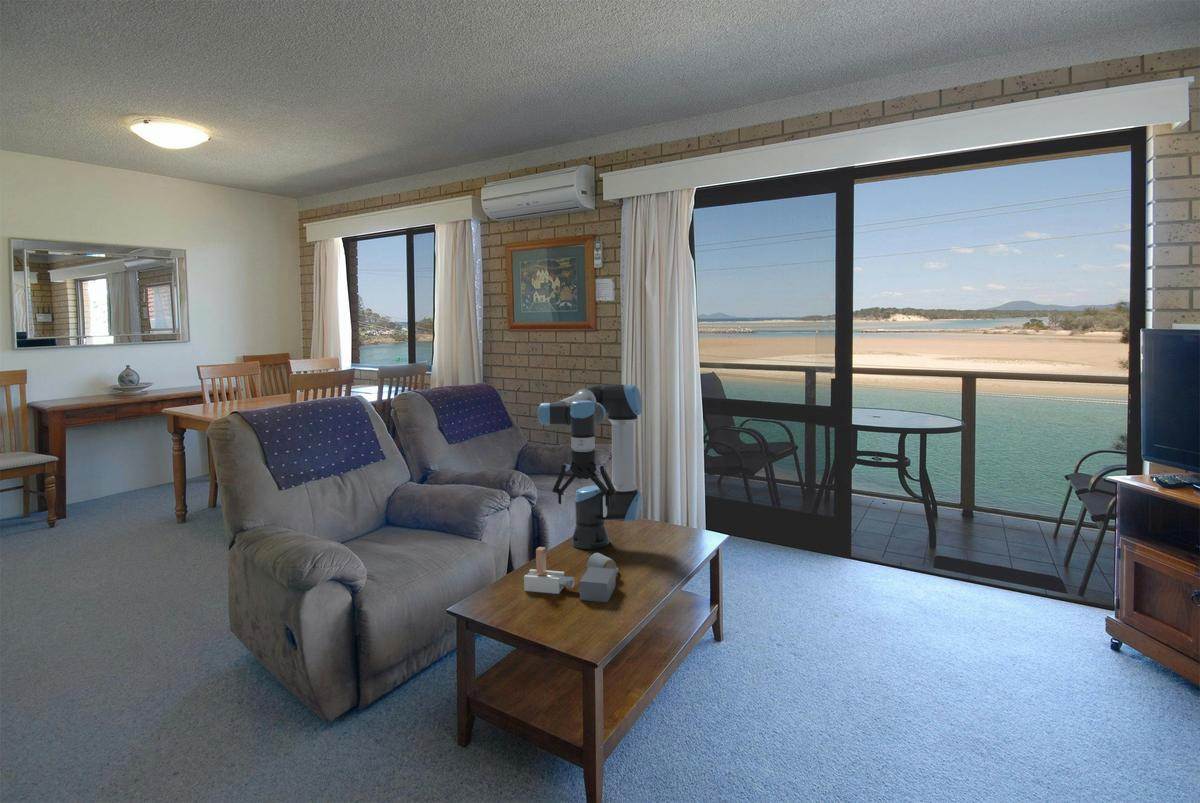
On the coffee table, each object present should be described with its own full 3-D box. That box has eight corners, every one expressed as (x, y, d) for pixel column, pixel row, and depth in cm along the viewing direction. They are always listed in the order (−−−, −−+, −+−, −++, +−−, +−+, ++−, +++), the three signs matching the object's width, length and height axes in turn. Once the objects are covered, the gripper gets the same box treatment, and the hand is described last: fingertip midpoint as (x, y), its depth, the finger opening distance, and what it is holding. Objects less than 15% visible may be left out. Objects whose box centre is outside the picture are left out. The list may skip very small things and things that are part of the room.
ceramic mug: (603, 582, 209) (603, 561, 208) (586, 576, 215) (586, 555, 214) (624, 574, 217) (624, 553, 216) (607, 568, 222) (607, 548, 222)
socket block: (589, 584, 208) (589, 566, 207) (615, 586, 206) (615, 568, 205) (580, 599, 196) (579, 581, 195) (607, 602, 194) (607, 583, 193)
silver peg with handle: (529, 581, 208) (528, 545, 207) (574, 585, 204) (574, 549, 203) (525, 585, 205) (524, 549, 204) (571, 589, 201) (571, 552, 200)
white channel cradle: (531, 583, 210) (530, 569, 209) (564, 586, 207) (564, 571, 206) (524, 590, 204) (523, 576, 203) (558, 593, 201) (558, 579, 200)
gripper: (541, 450, 193) (543, 516, 195) (619, 452, 188) (620, 520, 190) (548, 446, 200) (550, 509, 202) (624, 448, 195) (624, 513, 197)
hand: (584, 514), depth 196 cm, fingers open, 13 cm apart
